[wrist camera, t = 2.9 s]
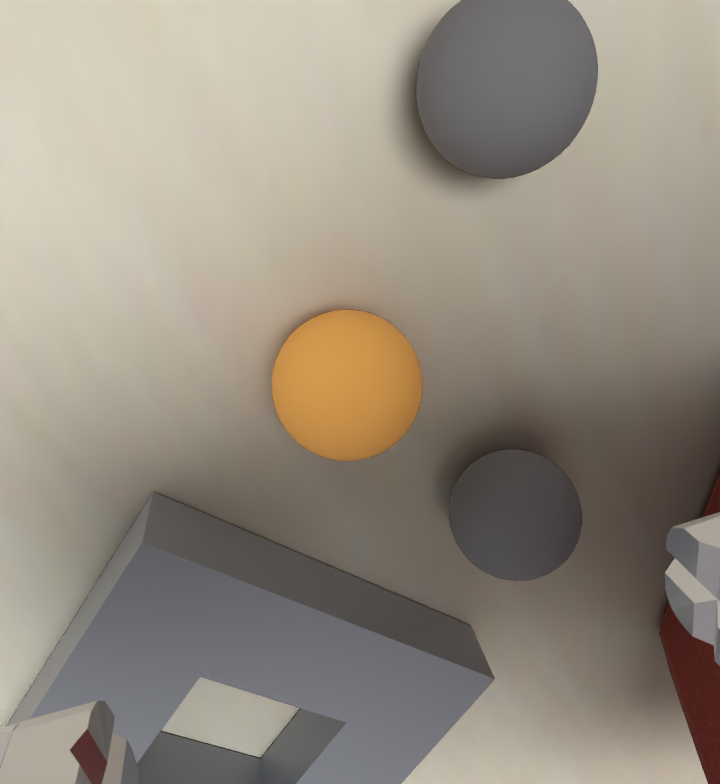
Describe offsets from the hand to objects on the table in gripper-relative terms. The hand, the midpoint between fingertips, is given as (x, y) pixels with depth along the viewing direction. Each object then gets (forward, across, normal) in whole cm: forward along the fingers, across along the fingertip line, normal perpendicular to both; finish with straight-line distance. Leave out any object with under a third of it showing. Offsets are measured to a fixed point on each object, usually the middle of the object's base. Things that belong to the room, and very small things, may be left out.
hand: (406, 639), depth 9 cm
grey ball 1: (+8, -6, -6) cm, 12 cm away
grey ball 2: (+8, -5, +6) cm, 11 cm away
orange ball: (+9, -1, 0) cm, 9 cm away
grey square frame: (+11, +6, +12) cm, 17 cm away
